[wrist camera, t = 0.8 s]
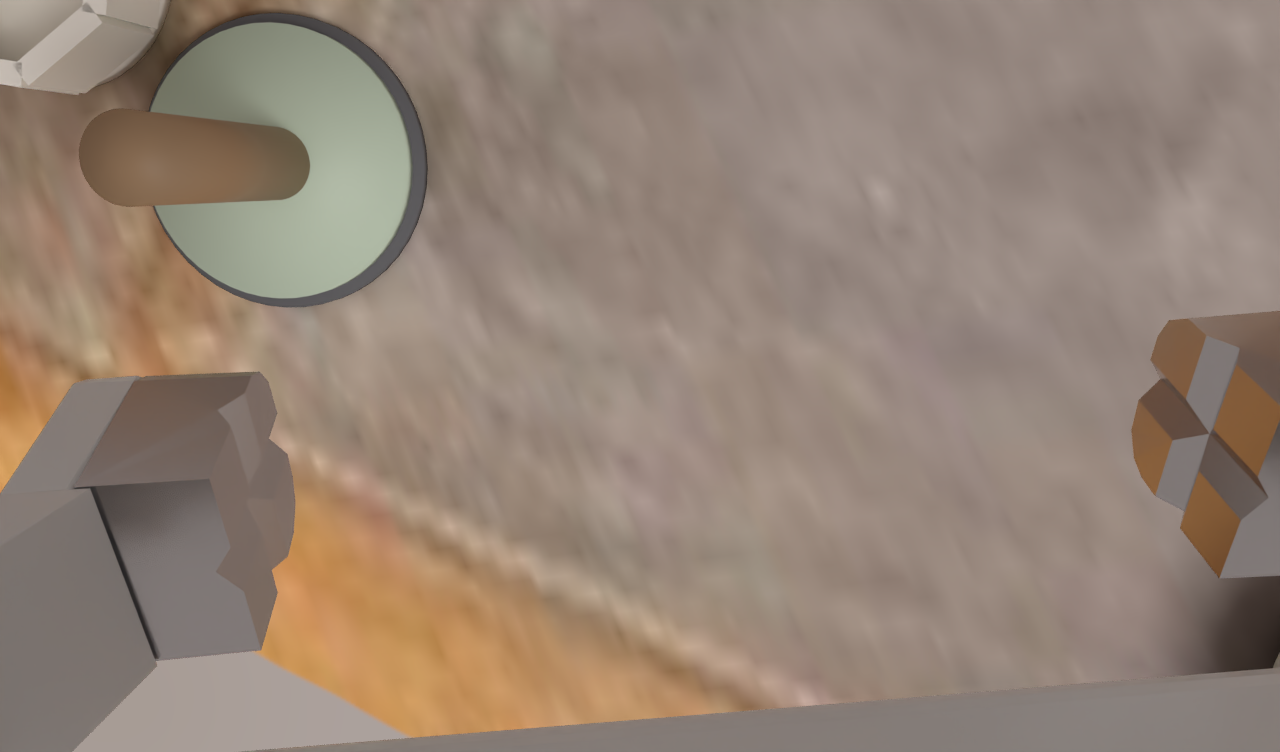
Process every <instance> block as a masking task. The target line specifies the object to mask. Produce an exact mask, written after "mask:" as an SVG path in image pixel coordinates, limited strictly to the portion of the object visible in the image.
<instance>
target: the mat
mask: <svg viewBox="0 0 1280 752" xmlns="http://www.w3.org/2000/svg"><path fill="white" fill-rule="evenodd" d="M267 22H273V23H283V24H291V25H295V26H299V27H303V28H307V29H310V30H312V31H315V32H318V33H320V34H323V35H325V36H328V37H330V38H332V39H334V40H336V41H338V42H339V43H341V44H343V45H345V46H346V47H348V48H349V49H351V50H352V51H353V52H355V53H356V54H357V55H359V56H360V57H361V58H362V59H363V60H364V61H365V62H366V63H367V64H369V65H370V66H371V67H372V68H373V69H374V70H375V72H376V73H377V74H378V75H379V77H380V78H381V79H382V80H383V81H384V83H385V84H386V86H387V87H388V89H389V90H390V92H391V94H392V95H393V97H394V98H395V100H396V103H397V105H398V107H399V109H400V111H401V113H402V115H403V118H404V121H405V124H406V127H407V131H408V134H409V139H410V144H411V150H412V163H413V175H412V188H411V193H410V199H409V204H408V207H407V210H406V213H405V216H404V219H403V221H402V223H401V226H400V228H399V230H398V232H397V234H396V236H395V237H394V239H393V240H392V242H391V243H390V245H389V246H388V248H387V249H386V251H385V252H384V253H383V254H382V255H381V256H380V257H379V259H378V260H377V261H376V262H375V263H374V264H373V265H371V266H370V267H369V268H368V269H367V270H366V271H365V272H363V273H362V274H360V275H359V276H357V277H356V278H354V279H353V280H351V281H350V282H348V283H346V284H343V285H341V286H339V287H337V288H335V289H332V290H329V291H325V292H322V293H319V294H315V295H311V296H305V297H299V298H270V297H261V296H257V295H253V294H249V293H245V292H243V291H240V290H238V289H235V288H232V287H230V286H228V285H226V284H224V283H222V282H220V281H219V280H217V279H215V278H213V277H212V276H210V275H209V274H208V273H206V272H205V271H203V270H202V269H201V268H199V267H198V266H197V265H196V264H195V263H194V262H193V261H192V260H191V259H189V258H188V257H187V256H186V255H185V253H184V252H183V251H182V250H181V249H180V248H179V247H178V245H177V244H176V243H175V242H174V240H173V239H172V237H171V236H170V234H169V233H168V231H167V230H166V228H165V227H164V225H163V223H162V221H161V219H160V217H159V215H158V213H157V211H156V208H155V206H153V207H154V210H155V212H156V215H157V217H158V219H159V221H160V223H161V225H162V227H163V229H164V231H165V232H166V234H167V235H168V237H169V238H170V240H171V241H172V243H173V244H174V246H175V247H176V249H177V250H178V251H179V252H180V253H181V254H182V256H183V257H184V258H185V259H186V260H187V261H188V262H189V263H190V264H191V265H192V266H193V267H194V268H195V269H196V270H197V271H198V272H199V273H201V274H202V275H203V276H204V277H206V278H207V279H209V280H210V281H211V282H213V283H214V284H216V285H217V286H219V287H221V288H223V289H224V290H226V291H228V292H230V293H232V294H234V295H236V296H239V297H241V298H244V299H247V300H249V301H253V302H257V303H261V304H265V305H269V306H278V307H307V306H313V305H319V304H324V303H327V302H330V301H333V300H337V299H340V298H343V297H345V296H348V295H350V294H352V293H354V292H356V291H358V290H360V289H362V288H363V287H365V286H366V285H368V284H369V283H371V282H372V281H374V280H375V279H376V278H377V277H379V276H380V275H381V274H382V273H383V272H384V271H386V270H387V269H388V268H389V266H390V265H391V264H392V263H393V262H394V261H395V260H396V259H397V257H398V256H399V255H400V253H401V252H402V250H403V249H404V247H405V246H406V244H407V243H408V241H409V240H410V238H411V236H412V233H413V231H414V229H415V227H416V225H417V223H418V220H419V217H420V214H421V211H422V208H423V203H424V198H425V193H426V186H427V170H428V168H427V153H426V146H425V140H424V135H423V130H422V127H421V124H420V121H419V118H418V115H417V112H416V110H415V108H414V105H413V103H412V101H411V99H410V97H409V95H408V93H407V91H406V90H405V88H404V87H403V85H402V83H401V82H400V80H399V79H398V77H397V76H396V75H395V74H394V72H393V71H392V70H391V69H390V67H389V66H388V65H387V64H386V63H385V62H384V61H383V60H382V59H381V58H380V57H379V56H378V55H377V54H376V53H375V52H374V51H373V50H372V49H371V48H369V47H368V46H366V45H365V44H364V43H362V42H361V41H360V40H358V39H357V38H356V37H354V36H352V35H350V34H348V33H346V32H345V31H343V30H341V29H339V28H337V27H334V26H332V25H329V24H327V23H324V22H321V21H319V20H316V19H312V18H308V17H304V16H300V15H293V14H282V13H269V14H256V15H251V16H246V17H241V18H238V19H235V20H232V21H229V22H226V23H224V24H222V25H220V26H218V27H216V28H214V29H212V30H210V31H208V32H206V33H205V34H204V35H202V36H201V37H199V38H198V39H197V40H195V41H194V42H192V43H191V44H190V45H189V46H188V47H187V48H186V49H185V50H184V51H183V52H182V53H181V54H180V55H179V56H178V57H177V58H176V60H175V61H174V62H173V64H172V65H171V66H170V67H169V69H168V70H167V72H166V73H165V75H164V77H163V78H162V80H161V82H160V83H159V85H158V87H157V90H156V92H155V94H154V97H153V99H152V102H151V104H150V108H149V112H150V111H151V107H152V104H153V102H154V100H155V97H156V95H157V93H158V90H159V89H160V87H161V85H162V83H163V82H164V80H165V78H166V77H167V75H168V74H169V73H170V71H171V70H172V69H173V67H174V66H175V65H176V64H177V62H178V61H179V60H180V59H181V58H182V57H184V56H185V55H186V54H187V53H188V52H189V51H190V50H191V49H192V48H194V47H195V46H197V45H198V44H199V43H201V42H202V41H204V40H205V39H207V38H209V37H211V36H213V35H215V34H217V33H219V32H221V31H224V30H227V29H230V28H233V27H236V26H241V25H246V24H251V23H267Z"/></svg>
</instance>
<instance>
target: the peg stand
mask: <svg viewBox="0 0 1280 752" xmlns="http://www.w3.org/2000/svg"><path fill="white" fill-rule="evenodd" d="M79 159H80V165H81V169H82V172H83V175H84V177H85V179H86V181H87V182H88V184H89V185H90V187H91V188H92V189H93V190H94V191H95V192H96V193H97V194H98V195H99V196H101V197H102V198H103V199H105V200H107V201H108V202H110V203H113V204H116V205H119V206H126V207H135V206H155V208H156V211H157V213H158V215H159V217H160V219H161V221H162V223H163V225H164V227H165V228H166V230H167V231H168V233H169V234H170V236H171V237H172V239H173V240H174V242H175V243H176V244H177V245H178V247H179V248H180V249H181V250H182V251H183V252H184V253H185V255H186V256H187V257H188V258H189V259H191V260H192V261H193V262H194V263H195V264H196V265H197V266H198V267H199V268H201V269H202V270H203V271H205V272H206V273H208V274H209V275H210V276H212V277H213V278H215V279H217V280H219V281H220V282H222V283H224V284H226V285H228V286H230V287H232V288H235V289H238V290H240V291H243V292H245V293H249V294H253V295H257V296H261V297H270V298H299V297H305V296H311V295H315V294H319V293H322V292H325V291H329V290H332V289H335V288H337V287H339V286H341V285H343V284H346V283H348V282H350V281H351V280H353V279H354V278H356V277H357V276H359V275H360V274H362V273H363V272H365V271H366V270H367V269H368V268H369V267H370V266H371V265H373V264H374V263H375V262H376V261H377V260H378V259H379V257H380V256H381V255H382V254H383V253H384V252H385V251H386V249H387V248H388V246H389V245H390V243H391V242H392V240H393V239H394V237H395V236H396V234H397V232H398V230H399V228H400V226H401V223H402V221H403V219H404V216H405V213H406V210H407V207H408V204H409V199H410V193H411V188H412V175H413V163H412V150H411V144H410V139H409V134H408V131H407V127H406V124H405V121H404V118H403V115H402V113H401V111H400V109H399V107H398V105H397V103H396V100H395V98H394V97H393V95H392V94H391V92H390V90H389V89H388V87H387V86H386V84H385V83H384V81H383V80H382V79H381V78H380V77H379V75H378V74H377V73H376V72H375V70H374V69H373V68H372V67H371V66H370V65H369V64H367V63H366V62H365V61H364V60H363V59H362V58H361V57H360V56H359V55H357V54H356V53H355V52H353V51H352V50H351V49H349V48H348V47H346V46H345V45H343V44H341V43H339V42H338V41H336V40H334V39H332V38H330V37H328V36H325V35H323V34H320V33H318V32H315V31H312V30H310V29H307V28H303V27H299V26H295V25H291V24H283V23H273V22H267V23H251V24H246V25H241V26H236V27H233V28H230V29H227V30H224V31H221V32H219V33H217V34H215V35H213V36H211V37H209V38H207V39H205V40H204V41H202V42H201V43H199V44H198V45H197V46H195V47H194V48H192V49H191V50H190V51H189V52H188V53H187V54H186V55H185V56H184V57H182V58H181V59H180V60H179V61H178V62H177V64H176V65H175V66H174V67H173V69H172V70H171V71H170V73H169V74H168V75H167V77H166V78H165V80H164V82H163V83H162V85H161V87H160V89H159V90H158V93H157V95H156V97H155V100H154V102H153V104H152V107H151V111H150V112H148V111H140V110H131V109H113V110H109V111H106V112H104V113H102V114H100V115H98V116H97V117H96V118H94V119H93V120H92V121H91V122H90V123H89V125H88V126H87V127H86V129H85V131H84V133H83V135H82V138H81V142H80V147H79Z"/></svg>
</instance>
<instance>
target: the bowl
mask: <svg viewBox="0 0 1280 752" xmlns="http://www.w3.org/2000/svg"><path fill="white" fill-rule="evenodd" d="M170 1H171V0H0V84H3V85H9V86H15V87H21V88H28V89H36V90H43V91H51V92H58V93H66V94H74V95H79V93H85V94H86V93H87V92H88V91H89V90H90V89H92V88H93V87H96V86H99V85H102V84H104V83H107V82H109V81H111V80H113V79H115V78H117V77H119V76H120V75H122V74H123V73H125V72H126V71H127V70H129V69H130V68H132V67H133V66H134V65H135V64H136V63H137V62H138V61H139V60H140V59H141V58H142V57H143V56H144V55H145V53H146V52H147V51H148V50H149V48H150V47H151V46H152V44H153V43H154V41H155V39H156V38H157V36H158V34H159V32H160V31H161V28H162V26H163V23H164V21H165V19H166V16H167V12H168V9H169V5H170Z"/></svg>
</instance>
